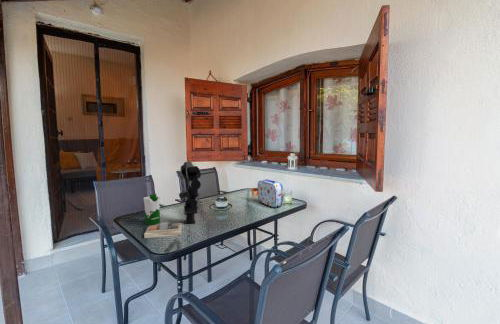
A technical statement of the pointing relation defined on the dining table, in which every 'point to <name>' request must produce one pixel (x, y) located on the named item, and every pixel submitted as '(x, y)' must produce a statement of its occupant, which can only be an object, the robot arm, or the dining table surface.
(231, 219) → the dining table surface
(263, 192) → the lunch box
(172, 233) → the keypad board
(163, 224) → the key grey
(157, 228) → the key terracotta
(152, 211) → the milk carton
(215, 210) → the dining table surface
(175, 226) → the key charcoal
